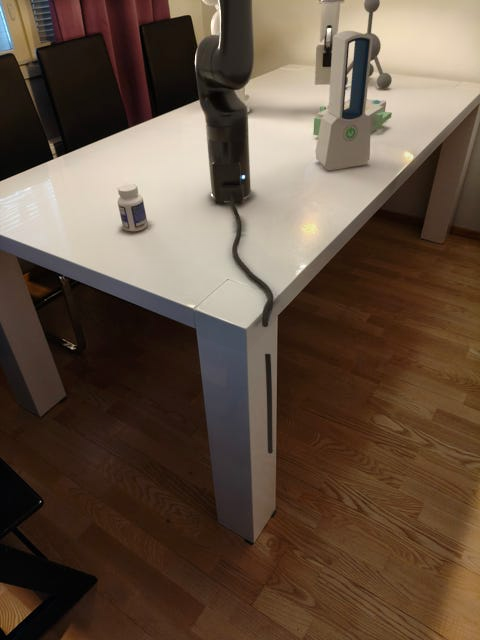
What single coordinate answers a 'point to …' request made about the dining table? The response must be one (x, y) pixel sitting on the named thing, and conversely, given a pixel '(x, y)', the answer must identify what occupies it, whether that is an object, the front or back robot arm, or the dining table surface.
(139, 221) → the pill bottle
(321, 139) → the electronic device
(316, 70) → the brick
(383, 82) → the molecular model
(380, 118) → the decorative block
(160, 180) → the dining table surface
